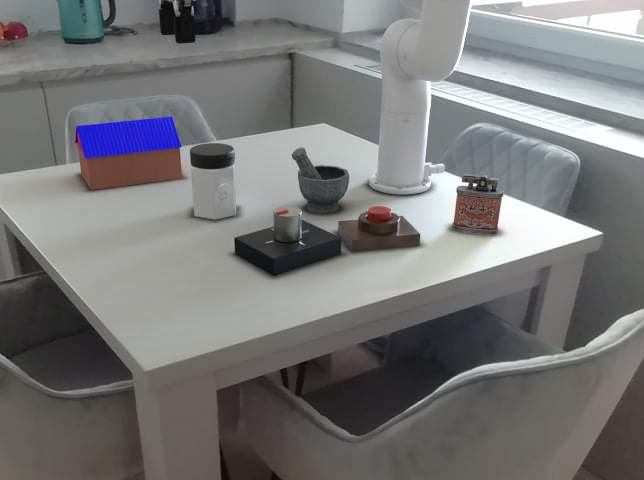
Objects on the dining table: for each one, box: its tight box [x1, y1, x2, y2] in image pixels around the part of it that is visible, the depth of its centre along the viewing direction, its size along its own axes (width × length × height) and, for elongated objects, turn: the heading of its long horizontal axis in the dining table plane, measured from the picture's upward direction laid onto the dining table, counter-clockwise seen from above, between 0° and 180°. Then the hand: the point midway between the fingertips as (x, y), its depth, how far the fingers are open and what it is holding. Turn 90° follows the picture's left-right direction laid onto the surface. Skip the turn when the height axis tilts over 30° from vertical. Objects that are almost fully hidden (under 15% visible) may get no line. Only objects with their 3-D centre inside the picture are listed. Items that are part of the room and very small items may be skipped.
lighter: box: [451, 173, 505, 236], centre depth 132 cm, size 8×3×10 cm, turn 71°
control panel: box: [233, 219, 343, 277], centre depth 125 cm, size 14×11×3 cm
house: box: [74, 116, 183, 191], centre depth 159 cm, size 12×20×12 cm, turn 113°
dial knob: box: [273, 205, 303, 242], centre depth 123 cm, size 5×5×5 cm
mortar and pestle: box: [291, 147, 350, 215], centre depth 141 cm, size 11×9×12 cm
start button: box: [367, 205, 392, 222], centre depth 129 cm, size 4×4×2 cm
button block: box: [337, 210, 421, 253], centre depth 130 cm, size 12×9×4 cm
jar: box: [189, 142, 237, 221], centre depth 140 cm, size 9×8×12 cm
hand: (177, 38), depth 125 cm, fingers open, 9 cm apart
